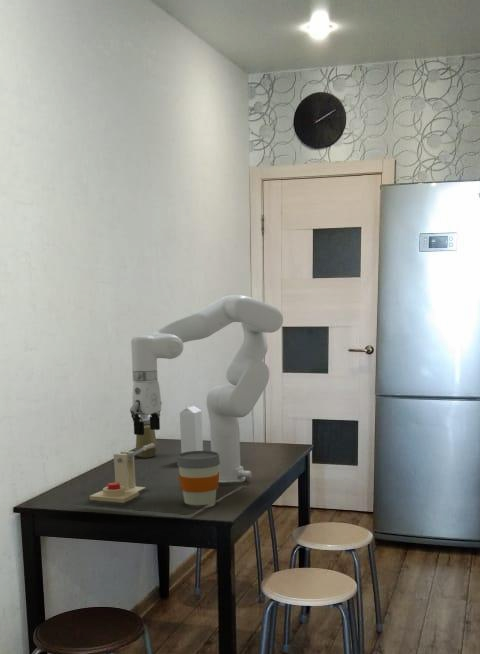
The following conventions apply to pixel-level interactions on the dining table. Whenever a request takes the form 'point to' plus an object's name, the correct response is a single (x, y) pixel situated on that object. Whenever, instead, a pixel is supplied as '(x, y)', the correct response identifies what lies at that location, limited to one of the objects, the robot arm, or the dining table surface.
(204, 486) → the reusable coffee cup
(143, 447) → the switch lever
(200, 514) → the dining table surface
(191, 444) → the milk
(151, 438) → the squeeze bottle
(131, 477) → the switch bracket
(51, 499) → the dining table surface
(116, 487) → the button
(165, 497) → the dining table surface
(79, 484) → the dining table surface
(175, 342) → the robot arm
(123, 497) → the control box
